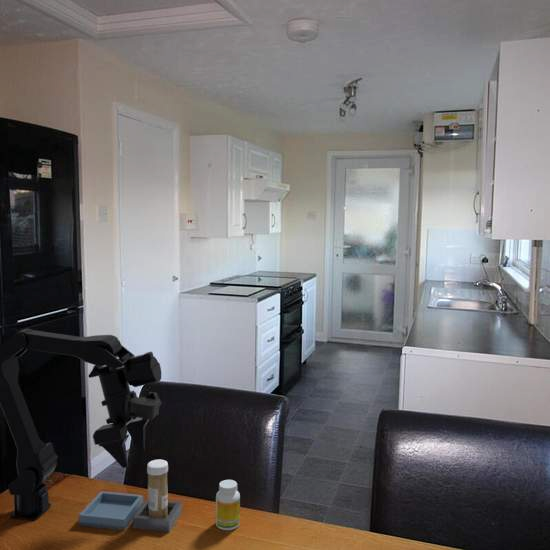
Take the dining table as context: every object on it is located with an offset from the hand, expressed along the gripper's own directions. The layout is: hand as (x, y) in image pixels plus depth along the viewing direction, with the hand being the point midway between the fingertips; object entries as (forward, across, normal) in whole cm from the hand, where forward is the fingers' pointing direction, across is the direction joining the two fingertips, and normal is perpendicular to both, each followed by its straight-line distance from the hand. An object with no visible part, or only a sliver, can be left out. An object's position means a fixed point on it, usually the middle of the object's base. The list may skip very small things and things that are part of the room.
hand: (134, 459), depth 120 cm
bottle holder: (+15, +2, -1) cm, 15 cm away
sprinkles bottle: (+15, +2, -1) cm, 16 cm away
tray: (+12, +2, +10) cm, 16 cm away
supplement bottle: (+20, +3, -16) cm, 26 cm away
